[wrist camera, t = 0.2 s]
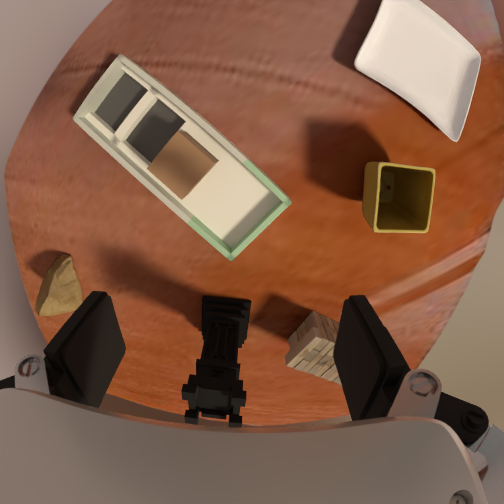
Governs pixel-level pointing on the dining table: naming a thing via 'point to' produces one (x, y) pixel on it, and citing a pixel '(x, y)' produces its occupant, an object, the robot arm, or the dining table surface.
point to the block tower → (314, 347)
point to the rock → (59, 289)
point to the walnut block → (182, 164)
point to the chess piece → (219, 362)
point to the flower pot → (398, 197)
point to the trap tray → (158, 135)
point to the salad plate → (422, 62)
